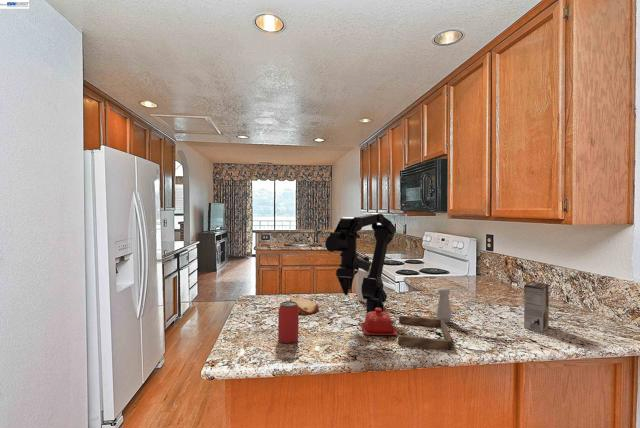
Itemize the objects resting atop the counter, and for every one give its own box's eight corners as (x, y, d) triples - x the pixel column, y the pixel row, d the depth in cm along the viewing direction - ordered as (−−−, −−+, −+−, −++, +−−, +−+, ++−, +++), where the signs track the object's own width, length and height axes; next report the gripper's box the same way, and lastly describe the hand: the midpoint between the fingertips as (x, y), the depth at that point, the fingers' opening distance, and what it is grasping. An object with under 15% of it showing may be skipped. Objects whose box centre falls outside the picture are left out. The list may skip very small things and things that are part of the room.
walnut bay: (398, 344, 101) (398, 336, 101) (399, 321, 123) (399, 315, 123) (452, 350, 97) (452, 342, 97) (443, 325, 119) (443, 319, 119)
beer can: (278, 336, 107) (279, 300, 107) (298, 335, 107) (298, 300, 107) (277, 344, 100) (278, 306, 100) (298, 343, 100) (298, 306, 101)
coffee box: (529, 322, 124) (529, 281, 124) (549, 326, 119) (549, 283, 119) (523, 327, 118) (523, 284, 118) (544, 332, 113) (544, 287, 113)
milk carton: (366, 304, 147) (366, 263, 147) (357, 300, 153) (357, 261, 153) (378, 302, 150) (378, 262, 150) (369, 298, 156) (369, 260, 156)
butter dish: (398, 338, 107) (398, 313, 107) (364, 337, 107) (364, 312, 107) (390, 326, 118) (391, 303, 118) (360, 325, 118) (360, 303, 118)
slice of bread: (292, 301, 152) (292, 293, 152) (327, 305, 145) (327, 297, 145) (273, 311, 135) (273, 302, 135) (312, 317, 128) (312, 307, 128)
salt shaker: (453, 324, 121) (453, 290, 121) (437, 323, 122) (437, 289, 122) (449, 319, 126) (450, 286, 126) (434, 318, 127) (435, 286, 127)
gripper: (368, 253, 107) (367, 299, 107) (372, 249, 125) (371, 288, 125) (336, 252, 110) (335, 297, 109) (344, 247, 128) (343, 286, 128)
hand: (347, 292), depth 118 cm, fingers open, 9 cm apart
